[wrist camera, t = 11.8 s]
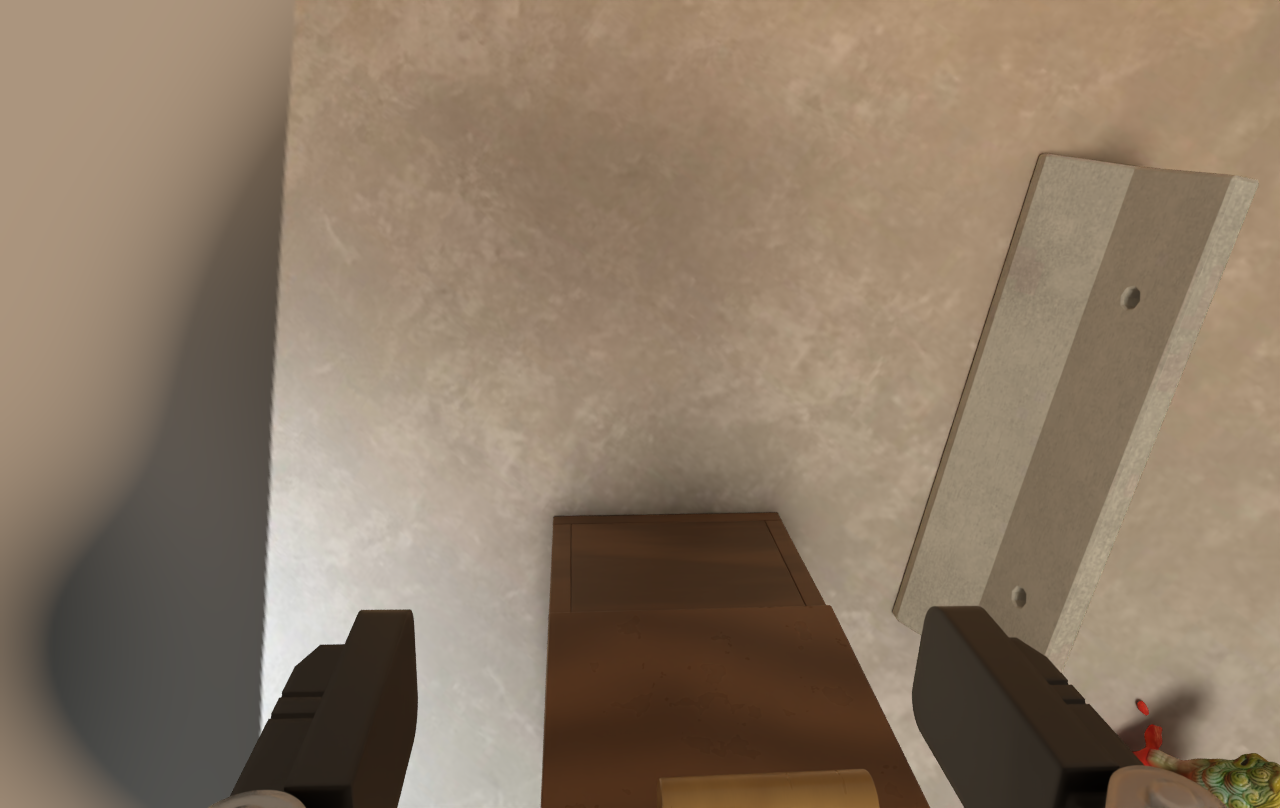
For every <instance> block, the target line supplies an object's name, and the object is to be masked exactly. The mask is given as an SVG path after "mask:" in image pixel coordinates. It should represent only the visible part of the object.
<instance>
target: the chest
mask: <svg viewBox="0 0 1280 808" xmlns="http://www.w3.org/2000/svg"><path fill="white" fill-rule="evenodd" d="M821 605H826V604H825V602H824V600H823V598H822V596H821V594H820V593H819V591H818V589H817V587H816V585H815V583H814V581H813V579H812V577H811V576H810V574H809V572H808V570H807V568H806V566H805V564H804V562H803V560H802V559H801V557H800V555H799V553H798V551H797V549H796V547H795V545H794V543H793V542H792V540H791V538H790V536H789V534H788V532H787V530H786V528H785V526H784V524H783V523H782V521H781V519H780V517H779V515H778V513H723V514H668V515H612V516H557V517H553V538H552V561H551V583H550V605H549V613H563V612H600V611H637V610H674V609H710V608H747V607H784V606H821Z"/></svg>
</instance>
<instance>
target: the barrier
mask: <svg viewBox="0 0 1280 808" xmlns="http://www.w3.org/2000/svg"><path fill="white" fill-rule="evenodd" d="M1258 185H1259V183H1258V180H1255V179H1251V178H1246V177H1241V176H1237V175H1227V174H1216V173H1205V172H1193V171H1182V170H1171V169H1160V168H1149V167H1138V166H1131V165H1124V164H1117V163H1109V162H1102V161H1095V160H1088V159H1081V158H1074V157H1067V156H1060V155H1053V154H1041V155H1040V156H1039V159H1038V162H1037V165H1036V168H1035V171H1034V175H1033V178H1032V181H1031V184H1030V187H1029V190H1028V193H1027V196H1026V199H1025V203H1024V206H1023V209H1022V212H1021V215H1020V218H1019V221H1018V224H1017V227H1016V230H1015V234H1014V237H1013V240H1012V243H1011V246H1010V249H1009V252H1008V255H1007V258H1006V262H1005V265H1004V268H1003V271H1002V274H1001V277H1000V280H999V283H998V286H997V289H996V293H995V296H994V299H993V302H992V305H991V308H990V311H989V314H988V317H987V321H986V324H985V327H984V330H983V333H982V336H981V339H980V342H979V345H978V349H977V352H976V355H975V358H974V361H973V364H972V367H971V370H970V373H969V376H968V380H967V383H966V386H965V389H964V392H963V395H962V398H961V401H960V404H959V408H958V411H957V414H956V417H955V420H954V423H953V426H952V429H951V432H950V435H949V439H948V442H947V445H946V448H945V451H944V454H943V457H942V460H941V463H940V467H939V470H938V473H937V476H936V479H935V482H934V485H933V488H932V491H931V494H930V498H929V501H928V504H927V507H926V510H925V513H924V516H923V519H922V522H921V526H920V529H919V532H918V535H917V538H916V541H915V544H914V547H913V550H912V554H911V557H910V560H909V563H908V566H907V569H906V572H905V575H904V578H903V581H902V585H901V588H900V591H899V594H898V597H897V600H896V603H895V606H894V609H893V614H894V616H895V617H896V619H897V620H898V621H899V622H901V623H902V624H904V625H906V626H907V627H909V628H910V629H912V630H913V631H915V632H917V633H918V634H920V635H921V636H922V630H923V624H924V619H925V616H926V613H927V611H928V610H929V608H931V607H932V606H980V607H982V608H984V609H985V610H986V611H987V613H988V614H989V615H990V616H991V617H992V618H993V620H994V621H995V622H996V623H997V624H998V625H999V626H1000V628H1001V629H1002V630H1003V631H1004V632H1005V633H1006V635H1007V636H1008V637H1017V638H1018V639H1020V640H1021V641H1023V642H1024V643H1026V644H1027V645H1029V646H1031V647H1032V648H1034V649H1035V650H1037V651H1038V652H1040V653H1041V654H1043V655H1044V656H1046V657H1047V658H1048V659H1049V660H1050V661H1051V662H1052V663H1053V664H1054V665H1055V667H1056V668H1057V669H1058V670H1059V671H1060V672H1061V673H1062V671H1063V669H1064V666H1065V664H1066V661H1067V659H1068V656H1069V654H1070V651H1071V649H1072V646H1073V644H1074V641H1075V639H1076V637H1077V634H1078V632H1079V629H1080V627H1081V624H1082V622H1083V619H1084V617H1085V614H1086V612H1087V609H1088V607H1089V604H1090V602H1091V599H1092V597H1093V594H1094V592H1095V589H1096V587H1097V584H1098V582H1099V579H1100V577H1101V574H1102V572H1103V570H1104V567H1105V565H1106V562H1107V560H1108V557H1109V555H1110V552H1111V550H1112V547H1113V545H1114V542H1115V540H1116V537H1117V535H1118V532H1119V530H1120V527H1121V525H1122V522H1123V520H1124V517H1125V515H1126V512H1127V510H1128V508H1129V505H1130V503H1131V500H1132V498H1133V495H1134V493H1135V490H1136V488H1137V485H1138V483H1139V480H1140V478H1141V475H1142V473H1143V470H1144V468H1145V465H1146V463H1147V460H1148V458H1149V455H1150V453H1151V450H1152V448H1153V445H1154V443H1155V441H1156V438H1157V436H1158V433H1159V431H1160V428H1161V426H1162V423H1163V421H1164V418H1165V416H1166V413H1167V411H1168V408H1169V406H1170V403H1171V401H1172V398H1173V396H1174V393H1175V391H1176V388H1177V386H1178V383H1179V381H1180V379H1181V376H1182V374H1183V371H1184V369H1185V366H1186V364H1187V361H1188V359H1189V356H1190V354H1191V351H1192V349H1193V346H1194V344H1195V341H1196V339H1197V336H1198V334H1199V331H1200V329H1201V326H1202V324H1203V321H1204V319H1205V317H1206V314H1207V312H1208V309H1209V307H1210V304H1211V302H1212V299H1213V297H1214V294H1215V292H1216V289H1217V287H1218V284H1219V282H1220V279H1221V277H1222V274H1223V272H1224V269H1225V267H1226V264H1227V262H1228V259H1229V257H1230V254H1231V252H1232V250H1233V247H1234V245H1235V242H1236V240H1237V237H1238V235H1239V232H1240V230H1241V227H1242V225H1243V222H1244V220H1245V217H1246V215H1247V212H1248V210H1249V207H1250V205H1251V202H1252V200H1253V197H1254V195H1255V192H1256V190H1257V188H1258Z"/></svg>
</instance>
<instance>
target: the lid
mask: <svg viewBox="0 0 1280 808" xmlns="http://www.w3.org/2000/svg"><path fill="white" fill-rule="evenodd" d="M541 808H930V806H929V804H928V802H927V800H926V798H925V796H924V794H923V792H922V790H921V788H920V786H919V784H918V782H917V780H916V778H915V776H914V774H913V772H912V770H911V768H910V766H909V764H908V762H907V760H906V758H905V756H904V753H903V751H902V749H901V747H900V745H899V743H898V741H897V739H896V737H895V735H894V733H893V731H892V729H891V727H890V725H889V723H888V721H887V719H886V717H885V715H884V713H883V711H882V709H881V707H880V705H879V703H878V700H877V698H876V696H875V694H874V692H873V690H872V688H871V686H870V684H869V682H868V680H867V678H866V676H865V674H864V672H863V670H862V668H861V666H860V664H859V662H858V660H857V658H856V656H855V654H854V652H853V650H852V648H851V645H850V643H849V641H848V639H847V637H846V635H845V633H844V631H843V629H842V627H841V625H840V623H839V621H838V619H837V617H836V615H835V613H834V611H833V609H832V607H831V606H830V605H821V606H784V607H747V608H710V609H674V610H637V611H600V612H563V613H549V617H548V641H547V665H546V690H545V714H544V738H543V762H542V786H541Z"/></svg>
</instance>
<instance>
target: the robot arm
mask: <svg viewBox="0 0 1280 808" xmlns="http://www.w3.org/2000/svg"><path fill="white" fill-rule="evenodd" d="M912 704H913V711H914V716H915V720H916V723H917V726H918V728H919V730H920V732H921V734H922V736H923V737H924V739H925V741H926V743H927V744H928V746H929V748H930V749H931V751H932V753H933V755H934V756H935V758H936V760H937V761H938V763H939V765H940V767H941V768H942V770H943V772H944V774H945V775H946V777H947V779H948V780H949V782H950V784H951V786H952V787H953V789H954V791H955V792H956V794H957V796H958V798H959V799H960V801H961V803H962V804H963V806H964V808H1228V807H1227V806H1226V805H1225V804H1224V803H1223V802H1222V801H1221V800H1220V799H1219V798H1217V797H1216V796H1215V795H1214V794H1212V793H1211V792H1210V791H1208V790H1207V789H1206V788H1204V787H1202V786H1201V785H1199V784H1197V783H1196V782H1194V781H1192V780H1190V779H1188V778H1186V777H1184V776H1181V775H1179V774H1176V773H1174V772H1171V771H1168V770H1165V769H1161V768H1156V767H1152V766H1145V765H1144V764H1143V763H1142V762H1141V761H1140V760H1139V759H1138V758H1137V756H1136V755H1135V754H1134V753H1133V752H1132V751H1131V750H1130V749H1129V748H1128V746H1127V745H1126V744H1125V743H1124V742H1123V741H1122V740H1121V739H1120V738H1119V736H1118V735H1117V734H1116V733H1115V732H1114V731H1113V730H1112V729H1111V728H1110V726H1109V725H1108V724H1107V723H1106V722H1105V721H1104V720H1103V719H1102V718H1101V716H1100V715H1099V714H1098V713H1097V712H1096V711H1095V710H1094V709H1093V708H1092V707H1091V705H1090V704H1086V703H1085V699H1084V698H1083V697H1082V695H1081V694H1080V693H1079V692H1078V691H1077V690H1076V689H1075V688H1074V687H1073V685H1068V680H1067V679H1066V678H1065V677H1064V675H1063V674H1062V673H1061V672H1060V671H1059V670H1058V669H1057V668H1056V667H1055V665H1054V664H1053V663H1052V662H1051V661H1050V660H1049V659H1048V658H1047V657H1046V656H1044V655H1043V654H1041V653H1040V652H1038V651H1037V650H1035V649H1034V648H1032V647H1031V646H1029V645H1027V644H1026V643H1024V642H1023V641H1021V640H1020V639H1018V638H1017V637H1008V636H1007V635H1006V633H1005V632H1004V631H1003V630H1002V629H1001V628H1000V626H999V625H998V624H997V623H996V622H995V621H994V620H993V618H992V617H991V616H990V615H989V614H988V613H987V611H986V610H985V609H984V608H982V607H980V606H932V607H931V608H929V610H928V611H927V613H926V616H925V619H924V624H923V630H922V636H921V642H920V647H919V653H918V659H917V665H916V671H915V676H914V682H913V689H912ZM417 710H418V692H417V672H416V652H415V632H414V618H413V613H412V611H411V610H361V611H359V613H358V615H357V617H356V619H355V622H354V624H353V626H352V629H351V631H350V633H349V636H348V638H347V640H346V643H345V644H340V645H320V646H319V647H317V648H316V649H315V650H314V651H313V652H312V653H310V654H309V655H308V656H307V657H306V658H305V659H303V660H302V661H301V662H300V663H299V664H298V665H296V666H295V668H294V670H293V672H292V674H291V675H290V677H289V679H288V681H287V683H286V685H285V687H284V689H283V691H282V697H281V698H279V699H278V701H277V703H276V705H275V707H274V709H273V711H272V713H271V719H268V721H267V723H266V725H265V727H264V729H263V731H262V733H261V735H260V737H259V739H258V741H257V743H256V745H255V747H254V749H253V751H252V753H251V755H250V757H249V759H248V761H247V763H246V765H245V767H244V769H243V771H242V773H241V775H240V777H239V779H238V781H237V783H236V785H235V787H234V789H233V791H232V793H231V795H230V797H228V798H226V799H223V800H221V801H219V802H217V803H215V804H213V805H211V806H210V807H208V808H397V807H398V803H399V799H400V795H401V791H402V787H403V782H404V778H405V774H406V770H407V766H408V762H409V758H410V754H411V750H412V746H413V742H414V737H415V731H416V723H417Z"/></svg>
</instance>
